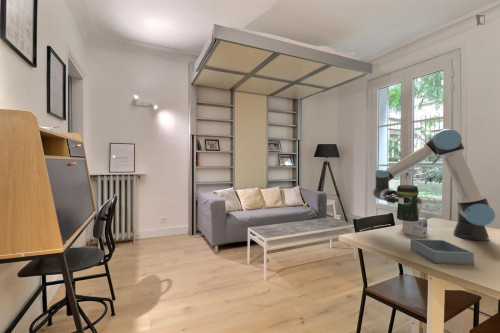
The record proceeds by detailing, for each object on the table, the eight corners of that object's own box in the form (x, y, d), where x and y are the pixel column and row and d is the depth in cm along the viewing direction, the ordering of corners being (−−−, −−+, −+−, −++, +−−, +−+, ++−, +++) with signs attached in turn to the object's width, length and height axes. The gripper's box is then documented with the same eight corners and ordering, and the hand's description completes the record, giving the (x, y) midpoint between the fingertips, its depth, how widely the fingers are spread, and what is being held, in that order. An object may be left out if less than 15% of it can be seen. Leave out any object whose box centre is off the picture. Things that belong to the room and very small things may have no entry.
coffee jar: (419, 220, 124) (420, 185, 124) (416, 223, 119) (417, 186, 119) (398, 217, 131) (398, 184, 131) (394, 219, 125) (395, 184, 125)
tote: (443, 249, 118) (443, 239, 118) (473, 264, 100) (474, 253, 100) (410, 248, 119) (410, 238, 119) (435, 263, 101) (435, 251, 101)
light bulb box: (427, 235, 141) (428, 217, 141) (423, 237, 137) (423, 219, 137) (407, 231, 150) (408, 214, 150) (402, 233, 146) (403, 215, 146)
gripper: (408, 202, 142) (434, 209, 119) (371, 201, 144) (390, 208, 121) (408, 189, 142) (435, 194, 119) (371, 189, 144) (390, 194, 121)
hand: (412, 201), depth 120 cm, fingers closed on coffee jar, 9 cm apart
